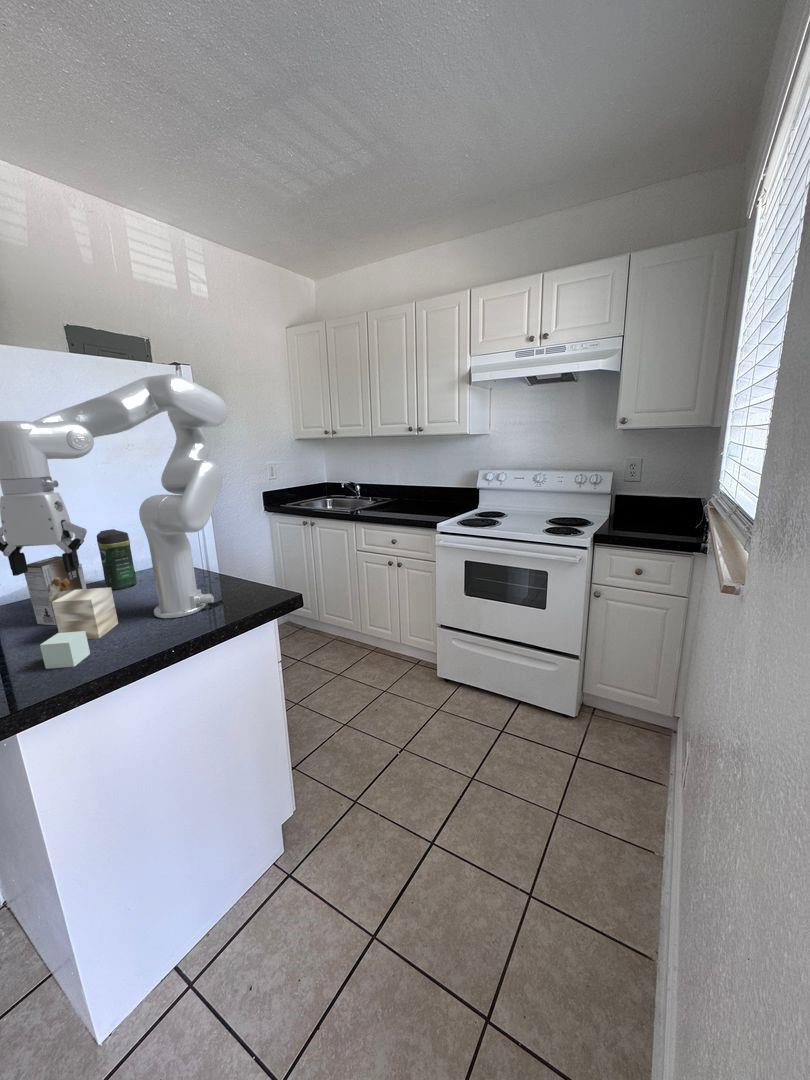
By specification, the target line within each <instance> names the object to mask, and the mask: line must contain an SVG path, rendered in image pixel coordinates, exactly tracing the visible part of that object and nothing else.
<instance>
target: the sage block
mask: <svg viewBox="0 0 810 1080" xmlns="http://www.w3.org/2000/svg"><path fill="white" fill-rule="evenodd" d="M39 647H40V652H41V655H42V659H43V663H44V667H45V669H46V670H47V669H49V670H50V669H60V668H61V669H62V668H72V667H76V666H77V665H78V664H80V663H81V662H82V661H83V660H84V659H86V658H87V657H89V656H90V654H91V652H90V651H91V650H90V647H89V642H88V639H87V637H86V632H85V631H79V632H65V633H59V632H57V633H55V634H54V635H52V636H51V637H50V638H48V639H47V640H45V641H43V642H42V643H41V644H39Z"/></svg>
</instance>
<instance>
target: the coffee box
mask: <svg viewBox="0 0 810 1080" xmlns="http://www.w3.org/2000/svg"><path fill="white" fill-rule="evenodd" d="M27 567H28V571H27V572H25V573H23V574H24V578H25V581H26V585H27V589H28V593H29V597H30V600H31V604H32V607H33V612H34V615H35V620H36V623H37V625H45V626H47V625H49V626H57V623H56V619H55V614H54V610H53V606H52V602H53V601H55V600H56V599H58V598H60V597H62V596H64V595H66V594H68V593H70V592H71V591H73V590H78V589H82V585H81V581H80V576H79V572H78V569H77V570H75V571H73V572H71V573H67V572H66V571H65V567H64V562H63V558H62V555H61V556H60V555H56V556H52V557H49V558H45V559H41V560H37V561H34V562H30V563H27Z"/></svg>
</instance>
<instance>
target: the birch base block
mask: <svg viewBox="0 0 810 1080" xmlns="http://www.w3.org/2000/svg"><path fill="white" fill-rule="evenodd" d="M117 614H118V613H117V610H116V605H115V606H114V607H113V608H111V609H110V610H108V611H107V612H106V613H104V614H103V615H101V616H100V617H98V618H97V619H95V620H81V621H68V622H56V623H57V625H56V626H57V627H56V628H57V629H58V630H57V631H58V633H65V632H79V631H85V632H86V637H87V640H93V639H94V640H95V639H100V638H102V637H103V636H105V635H106V634H107V633H109V632H110V631H111V630H112V629H113V628H115V627H116V626H117V625H119V620H118V615H117Z"/></svg>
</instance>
